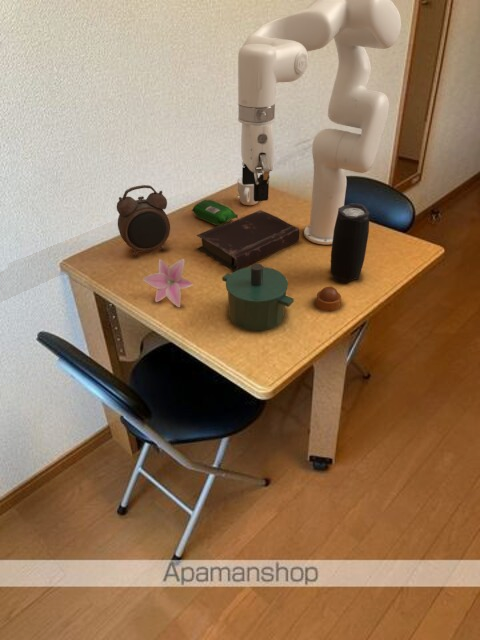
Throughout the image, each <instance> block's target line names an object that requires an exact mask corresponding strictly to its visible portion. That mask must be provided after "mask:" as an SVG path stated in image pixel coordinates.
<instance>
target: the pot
mask: <svg viewBox="0 0 480 640" xmlns="http://www.w3.org/2000/svg"><path fill="white" fill-rule="evenodd" d="M231 274H232V273H229V272H227V273H226V274H224V275H223V276H222V277H221V280H222V281H223V282H224V283H226V281H227V278H228V277H229V276H230V275H231ZM294 301H295V298H293V297H292V296H288V295H287V291H286V292H285V294H284V295H283V296H281V297H280V298H278V299H276V300H274V301H270V302H266V303H248V302H244V301H240V300H238V299H236V298H234V297H233V296H231V295H230V294H229V293H228V292H227V305H228V306H227V307H228V316H229V319H230V321H231V322H232V323H233V324H234V326H236V327H238V328H240V329H243V330H246V331H250V332H251V331H252V332H263V331H268V330H271V329H273V328H275V327H277V326H279V325H280V324H281V323H282V321H283V320H284V318H285V313H286V307H287V308H289V307H290V306H291V305H292V304H293V303H294Z"/></svg>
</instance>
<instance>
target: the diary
mask: <svg viewBox="0 0 480 640" xmlns="http://www.w3.org/2000/svg"><path fill="white" fill-rule="evenodd" d="M300 231H301V230H300V228H299V227H297V226H294V225H293V224H291V223H289V222H287V221H285V220H283V219H281V218H279V217H278V216H275V215H274V214H271V213H269V212H266V211H264V210H261V209H259V210H257V211H255V212H252V213H249V214H248V215H244V216H242V217H240V218H237V219H235V220H232V221H229V222H226V223H224V224H223V225H221V226H215V227H212V228H209V229H207V230H205V231H203V232H200V233H198V234H197V235H196V237H199V238H200V239H201V246H199V247H197V249H198V250H199V251H200V252H203V253H205V255H208V257H211V258H212V259H214V260H215V261H217V262H219V263H220V264H222V265H224V266H225V267H227V268H229V269H231V270H232V271H234V272H235V271H237V270H239V269H242V268H246V267H248V266H249V265H252V264H254V263H256V262H258V261H260V260H262V259H265V258H267V257H269V256H271V255H273V254H275V253H276V252H278V251H280V250H282V249H284V248H286V247H287V248H288V247H289V246H291V245H294V244H296V243H299V241H300V237H301V232H300Z"/></svg>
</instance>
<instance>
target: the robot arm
mask: <svg viewBox="0 0 480 640" xmlns="http://www.w3.org/2000/svg"><path fill="white" fill-rule="evenodd" d="M401 30H402V18H401V14H400V12H399V9H398V8H397V6H396V5H395V3H394V2H393V0H314V1H313V2H311V4H309V5H308V6H307V7H306V8H304V9H301V10H297V11H295V12H292V13H289V14H287V15H285V16H281V17H278V18H276V19H273V20H271V21H268V22H266V23H264V24H263V25H261V26H259V27H258V28H257V29H256V30H254V31H253V32H252V33H251V34H250V35H249V36H248V37H247V38H246V39H245V41H244V42H243V44H242V46H241V47H240V48H239V50H238V53H237V54H238V55H237V56H238V57H237V61H238V62H237V79H238V80H237V97H238V99H237V102H238V103H237V120H238V122H239V123H241V136H240V154H241V155H240V156H241V160H242V161H241V162H242V163H241V165H242V170H241V173H242V175H241V176H242V183H243V185H248V184H254V201H255V202H256V201H258V202H265V201H268V200H269V189H270V173H271V172H272V171H273V170H274V129H273V123H274V122H275V112H276V111H275V110H276V89H277V88H276V87H277V83H292V82H295V81H297V80H298V79H300V78H301V77H302V76H304V74H305V72H306V70H307V68H308V64H309V55H308V52H312V51H317V50H320V49H323V48H325V47H326V46H327V45H328V44H329V43H331V41H332V40H334V44H335V47H336V52H337V58H338V66H337V72H336V75H335V79H334V82H333V87H332V91H331V95H330V98H329V103H328V108H327V117H328V119H329V121H330V122H332V123H334V124H337V125H341V126H345V127H351V128H355V129H361V133H357V132H350V131H347V130H342V129H336V128H324V129H321V130H320V131H318V132H317V133H316V135H315V136H314V138H313V141H312V144H311V145H312V146H311V147H312V148H311V152H312V153H311V154H312V162H313V181H312V191H311V192H312V194H311V204H310V206H311V207H310V218H309V219H310V220H309V225H306V227H305V228H304V229H303V235H304V237H305V238H306V239H307V241H309V242H312V243H314V244H317V245H324V246H325V245H328V246H329V245H332V242H333V234H334V227H335V223H336V219H337V215H338V208H340V207H342V206H345V202H346V201H345V200H346V194H347V193H346V191H347V183H348V180H347V175H346V172H345V171H349V172H354V173H358V174H363V173H367V172H368V171H370V169H371V168H372V166H373V165H374V164H375V160H376V157H377V155H378V151H379V147H380V145H381V142H382V138H383V135H384V132H385V131H384V130H385V127H386V124H387V121H388V117H389V113H390V100H389V97H388V96H387V94H385V92H383V91H379V90H375V89H368V84H369V80H370V77H371V73H372V65H371V60H370V57H369V54H368V52H367V51H366V48H369V49H380V50H385V49H386V50H387V49H389V48H391V47H393V46H394V45H395V44H396V42H397V41H398V39H399V37H400V33H401ZM259 174H260V175H259Z"/></svg>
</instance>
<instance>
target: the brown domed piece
mask: <svg viewBox="0 0 480 640" xmlns="http://www.w3.org/2000/svg"><path fill="white" fill-rule="evenodd" d="M341 301H342V296H341V294H340V293H339V292H338V290H337V289H336V288H335V287H333V286H325V287H323V288H322V289H320V290H319V291H317V293H316V299H315V305H316V307H317V308H318V309H320V310H322V311H325V312H334V311H336V310H338V309H339V308H340V307H341Z"/></svg>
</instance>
